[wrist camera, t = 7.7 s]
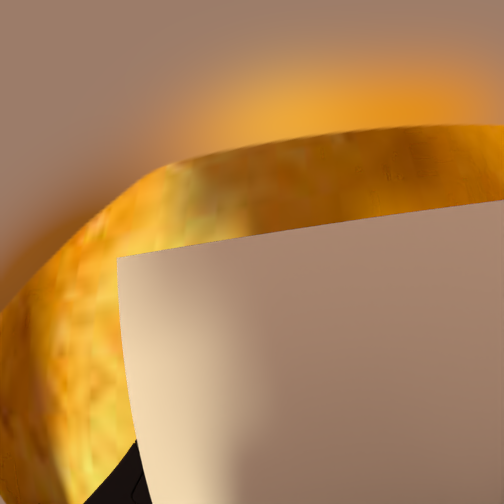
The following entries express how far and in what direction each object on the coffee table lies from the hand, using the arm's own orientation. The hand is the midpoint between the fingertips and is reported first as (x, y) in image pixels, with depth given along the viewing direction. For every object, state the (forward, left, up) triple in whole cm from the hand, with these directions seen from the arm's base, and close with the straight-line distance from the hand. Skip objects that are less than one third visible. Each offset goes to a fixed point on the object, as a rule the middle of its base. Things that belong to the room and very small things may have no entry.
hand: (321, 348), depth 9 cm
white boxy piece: (-1, -1, -7) cm, 7 cm away
